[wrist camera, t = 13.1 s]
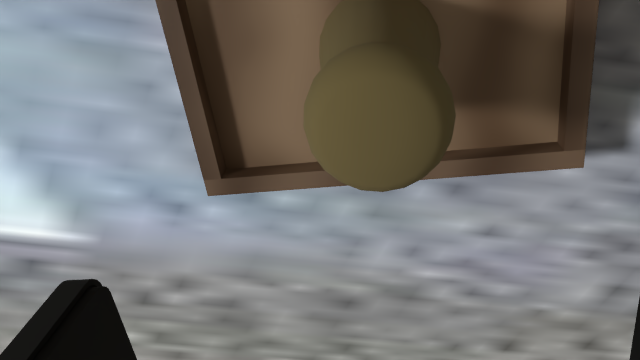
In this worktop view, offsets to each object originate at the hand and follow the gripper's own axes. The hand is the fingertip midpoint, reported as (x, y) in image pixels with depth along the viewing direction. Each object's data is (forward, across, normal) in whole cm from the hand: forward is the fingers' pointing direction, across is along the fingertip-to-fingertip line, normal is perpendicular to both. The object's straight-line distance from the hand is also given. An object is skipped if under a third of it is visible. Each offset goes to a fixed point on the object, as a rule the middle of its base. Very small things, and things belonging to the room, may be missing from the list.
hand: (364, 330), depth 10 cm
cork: (+20, 0, 0) cm, 20 cm away
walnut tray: (+22, 0, 0) cm, 22 cm away
